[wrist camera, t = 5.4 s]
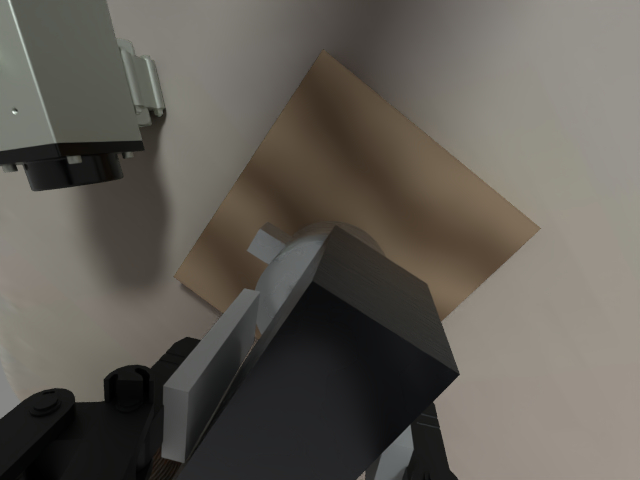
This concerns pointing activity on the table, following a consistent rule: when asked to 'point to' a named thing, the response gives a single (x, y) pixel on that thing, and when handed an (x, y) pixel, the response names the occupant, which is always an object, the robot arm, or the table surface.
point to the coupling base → (358, 195)
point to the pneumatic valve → (70, 93)
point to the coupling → (325, 362)
